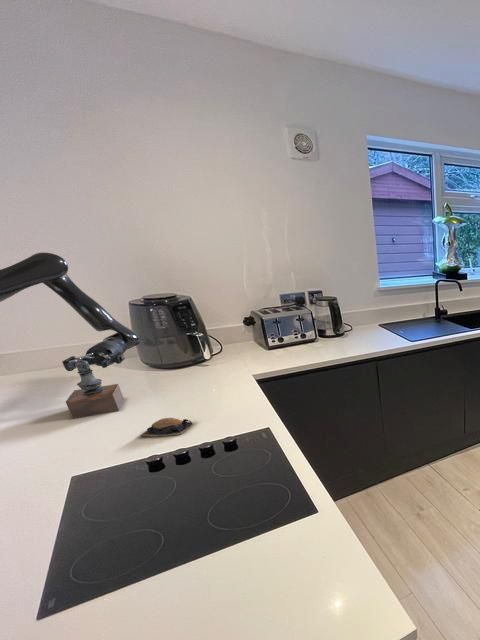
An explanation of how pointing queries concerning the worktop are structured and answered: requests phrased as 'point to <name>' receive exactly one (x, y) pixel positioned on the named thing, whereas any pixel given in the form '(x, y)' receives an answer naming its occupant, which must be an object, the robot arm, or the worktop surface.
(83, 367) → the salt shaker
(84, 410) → the brown rectangular block
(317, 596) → the worktop surface
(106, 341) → the robot arm
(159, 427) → the turtle figurine
